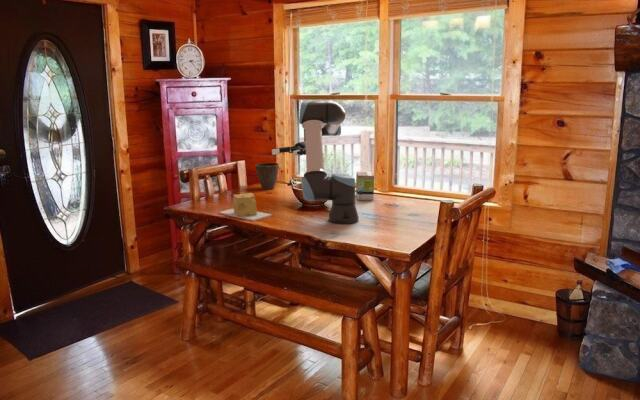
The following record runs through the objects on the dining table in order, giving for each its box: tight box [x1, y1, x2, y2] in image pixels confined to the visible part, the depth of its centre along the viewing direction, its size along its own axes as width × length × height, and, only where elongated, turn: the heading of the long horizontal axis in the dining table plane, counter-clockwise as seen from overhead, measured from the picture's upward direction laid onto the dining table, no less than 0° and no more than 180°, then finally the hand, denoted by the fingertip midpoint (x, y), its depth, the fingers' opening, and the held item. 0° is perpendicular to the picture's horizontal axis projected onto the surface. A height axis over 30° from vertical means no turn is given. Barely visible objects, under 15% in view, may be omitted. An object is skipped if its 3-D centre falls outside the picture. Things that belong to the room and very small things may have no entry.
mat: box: [218, 208, 272, 222], centre depth 274 cm, size 26×13×1 cm, turn 52°
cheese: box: [232, 192, 258, 216], centre depth 271 cm, size 10×11×10 cm
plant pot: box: [255, 162, 279, 191], centre depth 337 cm, size 15×15×16 cm
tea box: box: [355, 171, 375, 201], centre depth 310 cm, size 15×10×15 cm
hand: (282, 153), depth 285 cm, fingers open, 13 cm apart
